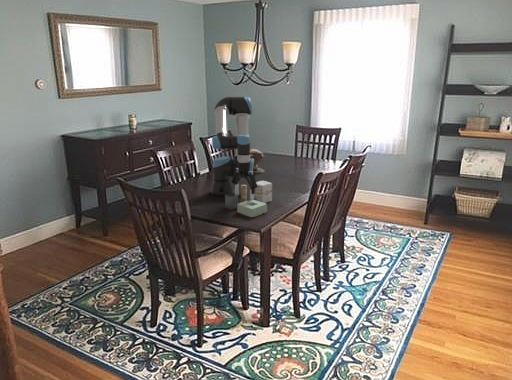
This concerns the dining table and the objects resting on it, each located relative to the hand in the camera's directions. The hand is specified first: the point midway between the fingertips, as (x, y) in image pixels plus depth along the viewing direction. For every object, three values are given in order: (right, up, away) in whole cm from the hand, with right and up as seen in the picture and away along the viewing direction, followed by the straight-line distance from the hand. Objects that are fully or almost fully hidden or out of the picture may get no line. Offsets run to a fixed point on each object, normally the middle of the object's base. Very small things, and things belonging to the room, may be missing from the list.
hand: (244, 196), depth 242 cm
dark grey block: (-7, -6, -3) cm, 10 cm away
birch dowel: (0, -5, +2) cm, 5 cm away
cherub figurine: (+5, +19, +81) cm, 83 cm away
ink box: (+11, -3, +9) cm, 14 cm away
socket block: (+5, -9, -11) cm, 15 cm away
